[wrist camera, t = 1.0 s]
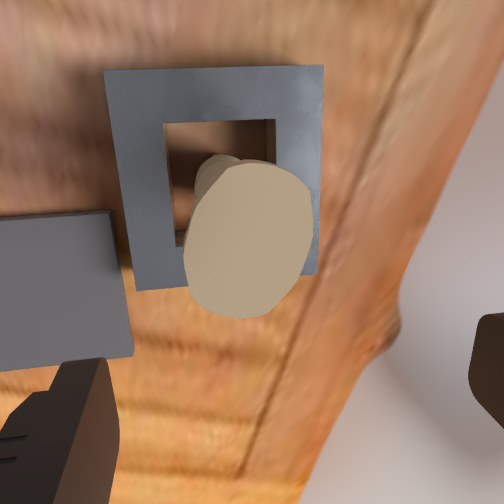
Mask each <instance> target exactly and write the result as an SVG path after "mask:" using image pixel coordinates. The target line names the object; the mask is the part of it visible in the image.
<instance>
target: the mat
mask: <svg viewBox="0 0 504 504" xmlns="http://www.w3.org/2000/svg"><path fill="white" fill-rule="evenodd" d="M133 353H134V345H133V339H132V333H131V327H130V321H129V315H128V308H127V302H126V296H125V290H124V284H123V278H122V272H121V266H120V260H119V254H118V248H117V242H116V236H115V230H114V224H113V218H112V212H111V210H100V211H86V212H71V213H57V214H43V215H28V216H14V217H0V372H2V371H11V370H19V369H28V368H37V367H45V366H54V365H61V364H62V363H63V362H64V361H73V360H82V359H91V358H99V357H104V358H105V359H115V358H123V357H132V356H133Z"/></svg>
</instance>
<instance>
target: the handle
mask: <svg viewBox="0 0 504 504" xmlns="http://www.w3.org/2000/svg"><path fill="white" fill-rule="evenodd" d="M194 194H195V202H194V205H193V207H192V210H191V214H190V217H189V221H188V225H187V229H186V233H185V238H184V244H183V257H184V268H185V272H186V277H187V281H188V285H189V289H190V293H191V297H192V299H193V300H194V301H195V302H196V303H197V304H199V305H200V306H201V307H203V308H204V309H206V310H208V311H210V312H212V313H215V314H218V315H222V316H226V317H232V318H252V317H257V316H261V315H263V314H266V313H268V312H269V311H270V310H271V309H272V308H273V307H274V306H275V305H276V304H277V303H278V302H279V301H280V300H281V299H282V298H283V297H284V296H285V295H286V294H287V293H288V292H289V291H290V289H291V288H292V287H293V285H294V284H295V283H296V281H297V280H298V278H299V275H300V273H301V271H302V269H303V266H304V263H305V261H306V258H307V255H308V252H309V249H310V246H311V242H312V238H313V215H312V205H311V196H310V191H309V189H308V188H307V187H306V186H305V184H304V183H303V182H302V181H301V180H300V179H299V178H298V177H296V176H295V175H294V174H292V173H291V172H289V171H287V170H286V169H284V168H282V167H280V166H277V165H275V164H272V163H269V162H265V161H260V160H247V159H244V160H239V159H237V158H235V157H233V156H229V155H220V154H219V153H217V154H213V155H212V157H211V158H209V159H208V160H206V161H205V162H204V163H203V164H202V165H201V166H200V167H199V169H198V171H197V175H196V180H195V185H194Z"/></svg>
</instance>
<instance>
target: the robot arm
mask: <svg viewBox="0 0 504 504" xmlns="http://www.w3.org/2000/svg"><path fill="white" fill-rule="evenodd" d="M468 379H469V385H470V388H471V391H472V393H473V395H474V397H475V398H476V400H477V401H478V402H479V403H480V404H481V405H482V407H484V409H485V410H486V411H487V412H488V413H489V414H490V415H491V416H492V417H493V418H494V419H495V420H496V421H497V422H498V423H499V424H500V425H501V426H502V427H503V429H504V313H495V314H487V315H484V316H483V317H482V318H481V319H480V320H479V322H478V326H477V331H476V336H475V341H474V346H473V351H472V357H471V361H470V366H469V372H468ZM119 440H120V429H119V418H118V413H117V408H116V403H115V398H114V393H113V387H112V382H111V377H110V372H109V367H108V363H107V361H106V359H105V358H104V357H99V358H91V359H82V360H73V361H64V362H63V363H62V364H61V365H60V367H59V369H58V371H57V374H56V376H55V378H54V380H53V382H52V384H51V386H50V388H49V390H48V391H40V392H33V393H32V394H31V395H30V396H29V397H28V398H27V399H26V400H25V401H23V402H22V403H21V404H20V405H19V406H18V407H17V408H16V409H15V410H14V411H13V412H12V413H11V414H10V415H9V417H8V419H7V420H6V422H5V424H4V426H3V428H2V429H1V431H0V504H108V503H109V498H110V493H111V488H112V482H113V477H114V472H115V467H116V462H117V457H118V451H119Z"/></svg>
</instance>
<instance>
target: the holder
mask: <svg viewBox="0 0 504 504" xmlns="http://www.w3.org/2000/svg"><path fill="white" fill-rule="evenodd" d="M323 73H324V65H287V66H249V67H212V68H175V69H137V70H103V77H104V83H105V90H106V96H107V103H108V109H109V116H110V122H111V129H112V135H113V142H114V148H115V155H116V161H117V168H118V174H119V181H120V187H121V194H122V200H123V207H124V213H125V220H126V226H127V233H128V239H129V246H130V253H131V259H132V266H133V272H134V279H135V285H136V291H143V290H153V289H164V288H174V287H185V286H189V285H188V281H187V277H186V272H185V268H184V257H183V244H184V238H185V233H186V230H184V231H177V228H176V218H175V209H174V199H173V190H172V181H171V171H170V162H169V152H168V143H167V134H166V124H165V123H183V122H206V121H229V120H252V119H266V153H267V162H269V163H272V164H275V165H277V166H280V167H282V168H284V169H286V170H287V171H289V172H291V173H292V174H294V175H295V176H296V177H298V178H299V179H300V180H301V181H302V182H303V183H304V184H305V186H306V187H307V188H308V189H309V191H310V196H311V205H312V215H313V238H312V242H311V246H310V249H309V252H308V255H307V258H306V261H305V263H304V266H303V269H302V271H301V273H300V275H311V274H318V243H319V209H320V175H321V141H322V107H323ZM300 275H299V276H300Z"/></svg>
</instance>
